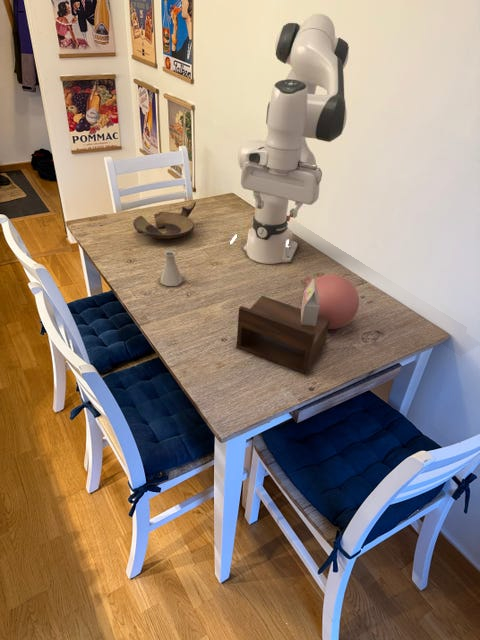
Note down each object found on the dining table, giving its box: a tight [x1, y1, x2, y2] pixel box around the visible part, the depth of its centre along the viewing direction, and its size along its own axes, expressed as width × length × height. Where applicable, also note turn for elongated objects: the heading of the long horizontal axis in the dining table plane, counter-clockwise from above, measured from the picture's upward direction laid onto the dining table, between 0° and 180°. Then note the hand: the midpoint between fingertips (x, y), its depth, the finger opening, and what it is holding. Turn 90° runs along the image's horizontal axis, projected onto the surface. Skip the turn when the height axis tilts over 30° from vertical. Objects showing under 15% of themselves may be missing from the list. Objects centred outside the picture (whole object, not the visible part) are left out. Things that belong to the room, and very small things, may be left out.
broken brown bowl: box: [132, 201, 197, 239], centre depth 168 cm, size 22×30×8 cm
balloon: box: [301, 273, 360, 330], centre depth 125 cm, size 15×20×15 cm
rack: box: [235, 295, 330, 376], centre depth 114 cm, size 14×20×13 cm
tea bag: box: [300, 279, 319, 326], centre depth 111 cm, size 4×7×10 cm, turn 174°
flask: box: [160, 250, 183, 287], centre depth 139 cm, size 7×7×10 cm
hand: (276, 212), depth 113 cm, fingers open, 8 cm apart
